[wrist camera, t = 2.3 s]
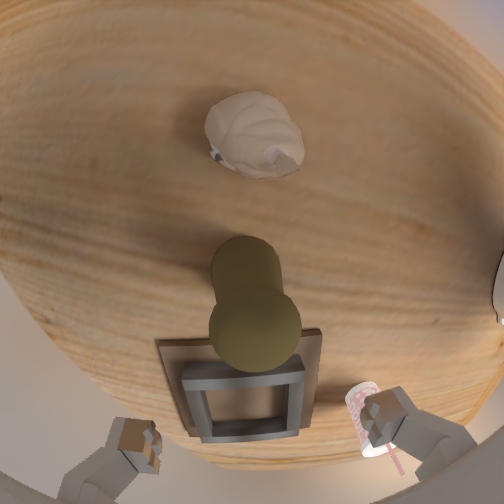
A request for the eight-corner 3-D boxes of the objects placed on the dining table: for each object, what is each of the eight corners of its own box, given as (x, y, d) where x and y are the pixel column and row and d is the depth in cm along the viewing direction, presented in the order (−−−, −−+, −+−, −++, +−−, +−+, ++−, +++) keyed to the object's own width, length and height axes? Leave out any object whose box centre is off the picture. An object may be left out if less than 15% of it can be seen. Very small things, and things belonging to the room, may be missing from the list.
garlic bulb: (215, 183, 21) (206, 191, 14) (204, 107, 19) (192, 76, 12) (295, 173, 22) (329, 176, 14) (286, 99, 20) (314, 67, 12)
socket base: (319, 328, 26) (330, 349, 23) (308, 421, 31) (313, 441, 28) (160, 340, 25) (153, 362, 22) (190, 431, 30) (188, 451, 27)
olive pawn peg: (228, 310, 25) (230, 399, 14) (199, 253, 23) (176, 322, 13) (289, 285, 25) (327, 363, 14) (264, 224, 23) (294, 274, 12)
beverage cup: (357, 374, 29) (405, 462, 16) (389, 379, 30) (437, 454, 17) (331, 406, 31) (364, 492, 17) (364, 409, 32) (400, 483, 18)
